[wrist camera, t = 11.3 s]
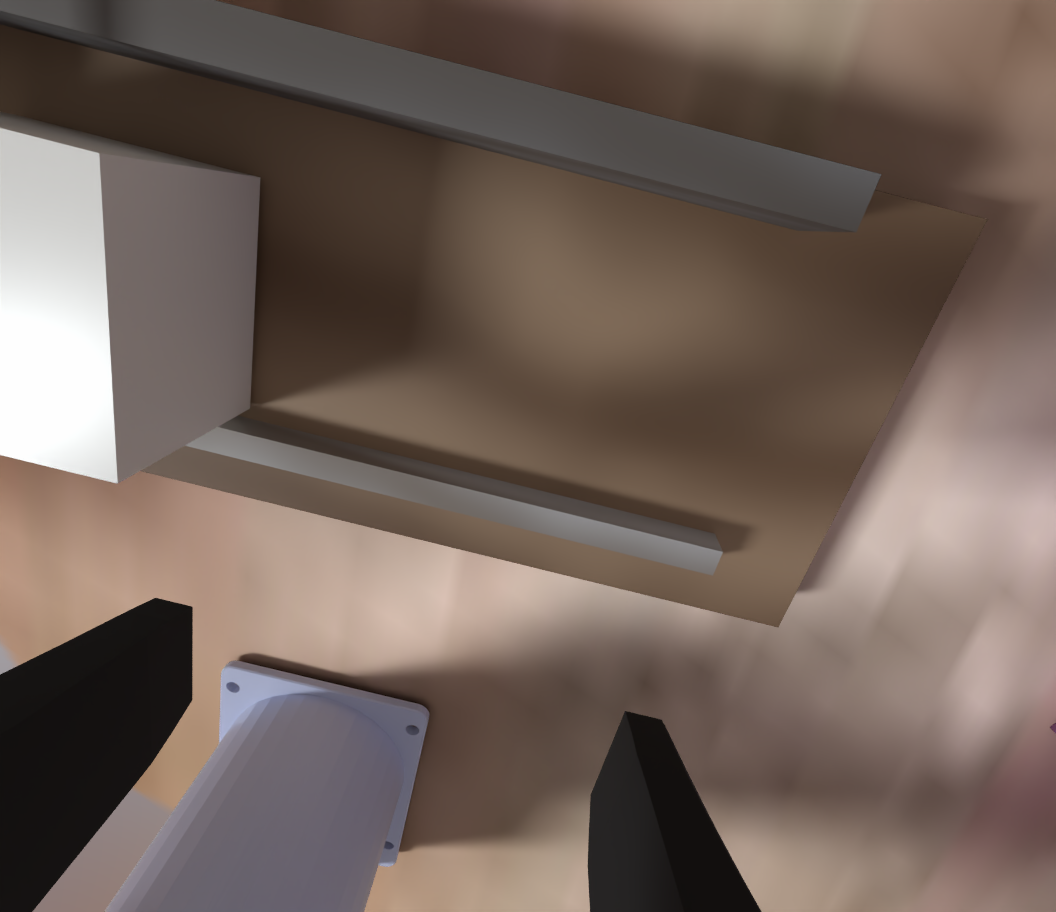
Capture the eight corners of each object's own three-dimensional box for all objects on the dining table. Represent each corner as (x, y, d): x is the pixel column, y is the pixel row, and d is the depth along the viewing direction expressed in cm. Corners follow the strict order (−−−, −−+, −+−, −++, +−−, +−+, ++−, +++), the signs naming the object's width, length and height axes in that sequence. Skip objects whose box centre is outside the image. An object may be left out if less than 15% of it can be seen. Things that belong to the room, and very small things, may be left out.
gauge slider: (249, 408, 16) (117, 483, 11) (40, 356, 16) (-181, 410, 11) (266, 45, 13) (88, -58, 8) (0, -24, 12) (-339, -170, 8)
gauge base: (763, 597, 19) (896, 861, 11) (-126, 379, 18) (-646, 494, 11) (947, 219, 14) (1397, 213, 6) (-231, -87, 14) (-1294, -498, 6)
